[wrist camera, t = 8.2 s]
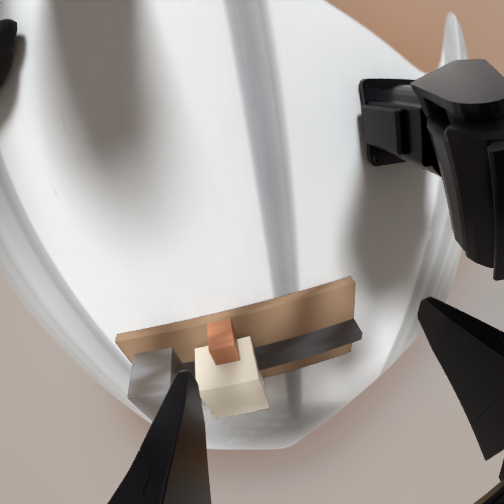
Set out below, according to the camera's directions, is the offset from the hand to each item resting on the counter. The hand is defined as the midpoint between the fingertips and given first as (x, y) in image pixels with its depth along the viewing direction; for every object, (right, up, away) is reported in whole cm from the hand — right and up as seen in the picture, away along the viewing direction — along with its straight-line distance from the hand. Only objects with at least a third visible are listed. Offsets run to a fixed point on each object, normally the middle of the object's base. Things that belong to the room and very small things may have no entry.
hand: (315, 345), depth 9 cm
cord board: (-3, -6, +17) cm, 18 cm away
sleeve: (-4, -7, +16) cm, 18 cm away
